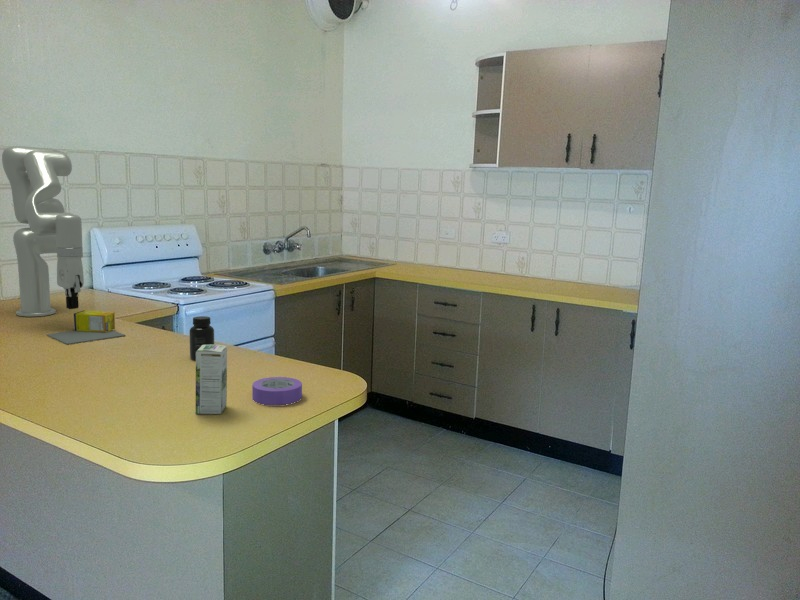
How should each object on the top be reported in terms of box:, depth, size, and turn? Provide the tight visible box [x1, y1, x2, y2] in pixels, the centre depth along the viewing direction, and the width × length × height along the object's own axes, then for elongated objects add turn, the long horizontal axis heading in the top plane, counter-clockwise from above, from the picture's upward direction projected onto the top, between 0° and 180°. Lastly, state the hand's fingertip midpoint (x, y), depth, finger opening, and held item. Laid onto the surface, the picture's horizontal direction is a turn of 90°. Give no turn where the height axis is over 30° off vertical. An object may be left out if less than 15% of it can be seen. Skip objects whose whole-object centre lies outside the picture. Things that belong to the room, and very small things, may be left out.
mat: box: [45, 329, 126, 346], centre depth 200 cm, size 16×18×1 cm
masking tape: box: [251, 376, 303, 406], centre depth 149 cm, size 12×12×4 cm
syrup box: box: [195, 344, 228, 415], centre depth 138 cm, size 6×6×14 cm
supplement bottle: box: [189, 315, 215, 361], centre depth 180 cm, size 7×7×12 cm
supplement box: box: [73, 309, 116, 333], centre depth 206 cm, size 6×6×11 cm
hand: (72, 308), depth 205 cm, fingers closed
